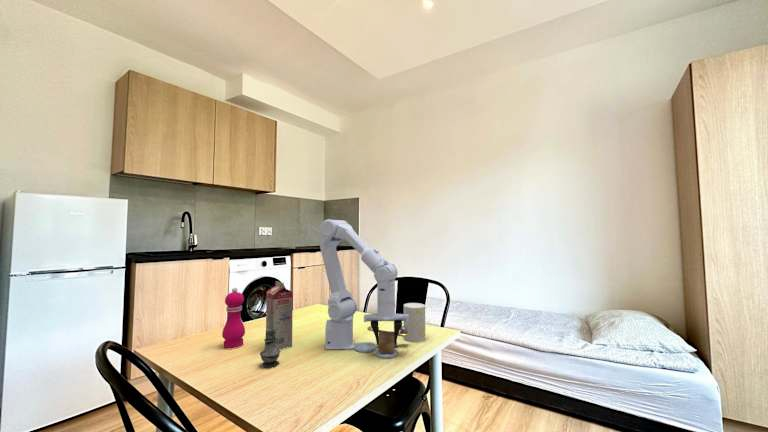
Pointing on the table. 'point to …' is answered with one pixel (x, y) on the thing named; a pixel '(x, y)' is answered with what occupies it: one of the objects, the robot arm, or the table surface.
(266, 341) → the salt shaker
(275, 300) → the juice carton
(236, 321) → the pepper mill
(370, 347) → the dish left
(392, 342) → the block
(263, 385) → the table surface
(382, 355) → the dish right
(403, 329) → the balance
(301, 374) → the table surface
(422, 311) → the cup
